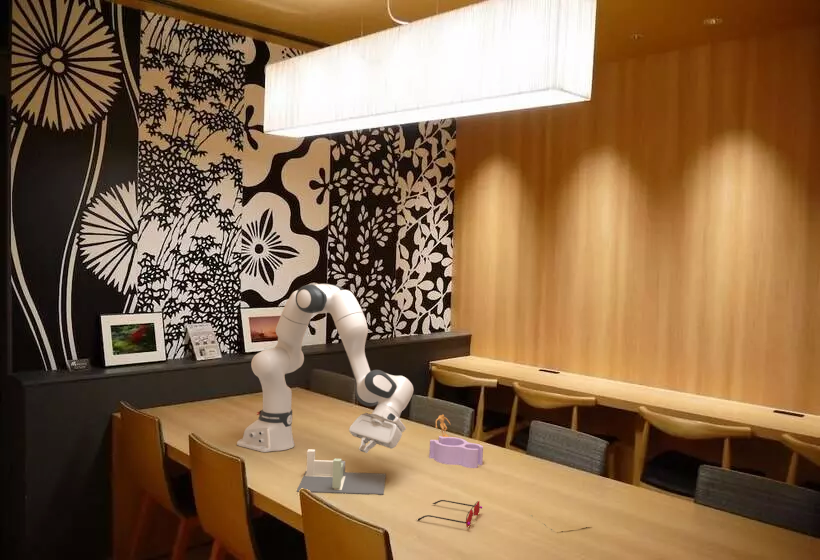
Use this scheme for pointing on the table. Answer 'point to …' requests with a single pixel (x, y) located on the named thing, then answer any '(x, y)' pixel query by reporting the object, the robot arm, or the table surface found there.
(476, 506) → the glasses
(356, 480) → the board
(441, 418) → the figurine
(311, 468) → the fixed fence
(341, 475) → the gate
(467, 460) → the lilac double-ring holder
